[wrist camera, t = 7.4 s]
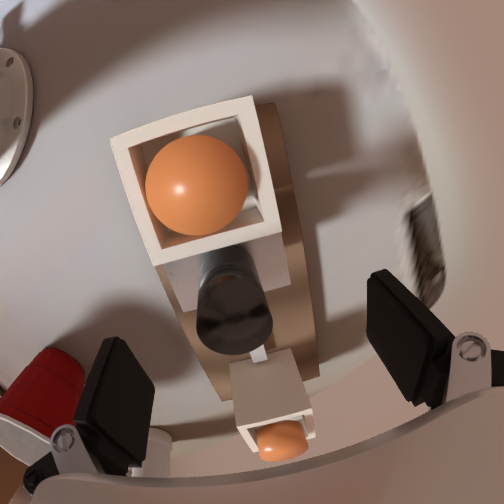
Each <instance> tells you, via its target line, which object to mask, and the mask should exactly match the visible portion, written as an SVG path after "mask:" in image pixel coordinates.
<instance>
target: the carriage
mask: <svg viewBox="0 0 504 504" xmlns="http://www.w3.org/2000/svg"><path fill="white" fill-rule="evenodd" d="M163 266H164V268H165V271H166V273H167V276H168V278H169V281H170V283H171V285H172V288H173V290H174V292H175V295H176V297H177V299H178V302H179V304H180V306H181V308H182V311H183V312H187V311H191V310H195V309H197V320H196V331H197V335H198V337H199V339H200V341H201V342H202V343H203V344H204V345H205V346H206V347H207V348H209V349H210V350H212V351H214V352H217V353H220V354H224V355H241V354H245V353H249V352H251V351H253V350H255V349H257V348H259V347H260V346H261V345H263V344H264V343H265V342H266V341H267V339H268V338H269V336H270V335H271V332H272V329H273V319H272V315H271V312H270V309H269V306H268V303H267V300H266V297H265V294H264V292H266V291H269V290H273V289H277V288H280V287H284V286H287V285H291V281H290V276H289V270H288V265H287V260H286V254H285V249H284V244H283V239H282V234H281V232H279V233H275V234H272V235H268V236H264V237H260V238H256V239H253V240H249V241H245V242H241V243H238V244H234V245H230V246H226V247H223V248H219V249H215V250H211V251H208V252H204V253H200V254H197V255H193V256H189V257H186V258H182V259H178V260H175V261H171V262H167V263H164V264H163Z"/></svg>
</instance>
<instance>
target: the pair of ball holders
mask: <svg viewBox="0 0 504 504" xmlns="http://www.w3.org/2000/svg"><path fill="white" fill-rule="evenodd" d="M191 135H207V136H211V137H214V138H217V139H219V140H221V141H223V142H224V143H226V144H227V145H228V146H229V147H231V148H232V149H233V150H234V151H235V152H236V154H237V155H238V156H239V158H240V159H241V161H242V163H243V165H244V167H245V170H246V174H247V180H248V189H247V195H246V199H245V202H244V205H243V207H242V209H241V210H240V212H239V213H238V215H237V216H236V217H235V218H234V219H233V221H232V222H230V223H229V224H228V225H227V226H225V227H224V228H222V229H220V230H218V231H216V232H213V233H210V234H206V235H198V236H195V235H186V234H182V233H178V232H176V231H174V230H172V229H170V228H168V227H167V226H165V225H164V224H163V223H162V222H161V221H160V220H159V219H158V218H157V217H156V216H155V215H154V213H153V212H152V210H151V208H150V206H149V203H148V201H147V197H146V190H145V182H146V175H147V172H148V169H149V166H150V164H151V162H152V160H153V159H154V157H155V156H156V155H157V153H158V152H159V151H160V150H161V149H162V148H163V147H165V146H166V145H167V144H169V143H170V142H172V141H174V140H176V139H179V138H182V137H186V136H191ZM110 142H111V146H112V150H113V153H114V157H115V160H116V163H117V167H118V170H119V173H120V176H121V180H122V183H123V186H124V189H125V192H126V195H127V198H128V201H129V204H130V207H131V209H132V212H133V215H134V218H135V221H136V223H137V226H138V229H139V231H140V234H141V237H142V239H143V242H144V244H145V247H146V249H147V252H148V254H149V257H150V259H151V262H152V264H153V266H157V265H160V264H164V263H167V262H171V261H175V260H178V259H182V258H186V257H189V256H193V255H197V254H200V253H204V252H208V251H211V250H215V249H219V248H223V247H226V246H230V245H234V244H238V243H241V242H245V241H249V240H253V239H256V238H260V237H264V236H268V235H272V234H275V233H279V232H282V228H281V223H280V218H279V213H278V208H277V203H276V198H275V194H274V189H273V184H272V179H271V175H270V170H269V166H268V161H267V157H266V152H265V148H264V143H263V139H262V135H261V130H260V126H259V122H258V118H257V114H256V109H255V105H254V101H253V97H252V95H251V96H246V97H242V98H237V99H232V100H228V101H224V102H219V103H215V104H211V105H208V106H204V107H200V108H196V109H193V110H189V111H186V112H182V113H179V114H176V115H173V116H170V117H166V118H163V119H160V120H157V121H155V122H152V123H149V124H146V125H143V126H140V127H138V128H135V129H132V130H130V131H127V132H125V133H122V134H120V135H117V136H115V137H112V138H110ZM266 355H267V359H268V360H264V361H260V362H256V363H253V361H252V358H250V359H246V360H242V361H238V362H233V363H229V369H230V378H231V387H232V396H233V404H234V413H235V421H236V427H237V429H238V430H239V432H240V433H241V435H242V436H243V438H244V439H245V441H246V442H247V444H248V445H249V447H250V449H251V450H252V451H253V452H259V449H258V443H257V438H256V433H257V431H258V430H259V429H260V428H262V427H263V426H265V425H267V424H270V423H274V422H278V421H283V420H294V421H298V422H300V423H301V424H302V427H303V430H304V434H305V437H306V440H307V439H311V438H314V437H315V429H314V421H313V413H312V407H311V404H310V402H309V399H308V396H307V393H306V390H305V387H304V385H303V382H302V379H301V376H300V373H299V370H298V368H297V365H296V362H295V359H294V356H293V354H292V351H291V348H288V349H284V350H281V351H277V352H273V353H270V354H266Z"/></svg>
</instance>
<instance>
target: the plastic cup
mask: <svg viewBox="0 0 504 504" xmlns="http://www.w3.org/2000/svg"><path fill="white" fill-rule="evenodd" d="M83 389H84V372H83V370H82V368H81V366H80V365H79V364H78V363H77V362H76V360H75V359H74V358H72V357H71V356H69V355H68V354H67V353H65V352H63V351H60V350H58V349H55V348H46V349H44V350H42V351H41V352H39V354H38V355H37V356H36V357H35V358H34V359H33V361H32V362H31V363H30V364H29V365H28V366H26V368H25V369H24V370H23V371H22V372H21V374H20V375H19V376H18V377H17V378H16V380H15V381H14V382H13V383H12V385H11V386H10V387H9V388H8V390H7V391H6V392H5V394H4V395H3V396H2V398H0V446H1V447H2V448H3V449H4V450H6V451H7V452H8V453H10V454H11V455H12V456H14V457H15V458H17V459H18V460H20V461H22V462H23V463H25V464H27V465H28V466H31V465H32V464H34V463H35V462H37V461H38V460H39V459H41V458H42V457H43V456H45V455H46V454H47V453H49V452H50V451H51V449H50V438H51V436H52V434H53V432H54V431H55V430H56V429H57V428H58V427H60V426H62V425H66V424H69V425H72V426H74V427H75V425H76V423H75V422H74V421H73V417H74V414H75V411H76V408H77V405H78V403H79V400H80V397H81V394H82V392H83Z"/></svg>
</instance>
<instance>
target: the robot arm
mask: <svg viewBox="0 0 504 504" xmlns="http://www.w3.org/2000/svg"><path fill="white" fill-rule="evenodd" d="M32 109H33V81H32V76H31V71H30V68H29V66H28V64H27V61H26V60H25V58H24V57H23V56H22V55H21V54H20V53H18V52H17V51H15V50H12V49H8V48H0V186H1V185H2V184H3V183H4V182H5V181H6V180H7V179H8V177H9V176H10V174H11V173H12V171H13V170H14V168H15V166H16V164H17V162H18V160H19V158H20V156H21V153H22V150H23V148H24V145H25V143H26V139H27V135H28V131H29V128H30V122H31V116H32ZM366 333H367V337H368V340H369V342H370V343H371V345H372V346H373V348H374V349H375V351H376V352H377V354H378V355H379V357H380V359H381V360H382V362H383V363H384V365H385V367H386V368H387V370H388V371H389V373H390V375H391V376H392V378H393V379H394V381H395V382H396V384H397V386H398V388H399V389H400V391H401V392H402V394H403V396H404V397H405V399H406V400H407V401H408V402H409V401H412V403H413V405H414V406H415V407H416V406H417V405H419V404H421V403H423V402H425V403H426V404H427V406H428V407H429V409H428V412H427V413H425V414H423V415H421V416H419V417H417V418H415V419H413V420H411V421H409V422H406V423H404V424H402V425H400V426H398V427H396V428H393V429H391V430H389V431H387V432H384V433H382V434H379V435H377V436H375V437H372V438H370V439H367V440H365V441H362V442H359V443H357V444H354V445H352V446H348V447H345V448H342V449H339V450H336V451H333V452H330V453H327V454H324V455H320V456H317V457H314V458H309V459H306V460H302V461H298V462H294V463H290V464H285V465H281V466H277V467H271V468H266V469H260V470H254V471H248V472H241V473H233V474H226V475H215V476H202V477H183V478H182V477H181V478H155V477H132V476H131V475H130V474H129V472H128V466H129V467H133V468H142V461H144V460H145V459H146V451H147V443H148V435H149V427H150V420H151V413H152V407H153V400H154V394H155V388H154V385H153V383H152V381H151V380H150V379H149V377H148V376H147V374H146V373H145V371H144V370H143V368H142V367H141V365H140V364H139V362H138V361H137V359H136V358H135V356H134V355H133V353H132V352H131V350H130V349H129V347H128V345H127V344H126V342H125V341H124V340H121V339H120V338H119V337H111V338H106V339H104V340H103V342H102V344H101V347H100V349H99V351H98V354H97V356H96V359H95V361H94V363H93V366H92V368H91V371H90V373H89V376H88V378H87V381H86V384H85V386H84V389H83V392H82V394H81V397H80V400H79V403H78V405H77V408H76V411H75V414H74V417H73V421H74V422H75V423H76V425H75V427H74V426H72V425H69V424H66V425H62V426H60V427H58V428H57V429H56V430H55V431H54V432H53V434H52V436H51V438H50V449H51V451H50V452H49V453H47V454H46V455H45V456H43V457H42V458H41V459H39V460H38V461H37V462H35V463H34V464H32V465H31V466H30V467H29V468H28V469H27V470H26V471H25V474H24V477H23V482H24V487H23V486H21V487H20V488H19V489H18V491H17V492H16V493H15V495H14V496H13V497H12V499H11V500H10V501H9V503H8V504H504V351H499V350H491V349H490V345H489V343H488V341H487V340H486V338H484V337H483V336H482V335H480V334H478V333H474V332H465V333H462V334H460V335H458V336H457V337H455V336H454V335H453V334H452V333H451V332H450V331H449V330H448V329H447V328H446V327H445V326H444V324H443V323H442V322H441V321H440V320H439V319H438V318H437V317H436V316H435V315H434V314H433V313H432V312H431V311H430V310H429V309H428V308H427V307H426V306H425V305H424V304H423V303H422V302H421V301H420V300H419V299H418V298H417V297H415V296H414V295H413V294H412V293H411V292H410V291H409V290H408V289H407V288H406V287H405V286H404V285H403V284H402V283H401V282H400V281H399V280H398V279H397V278H396V277H394V276H393V275H392V274H391V273H390V272H389V271H388V270H387V269H383V270H380V271H377V272H374V273H372V274H371V276H370V278H368V280H367V327H366Z"/></svg>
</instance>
